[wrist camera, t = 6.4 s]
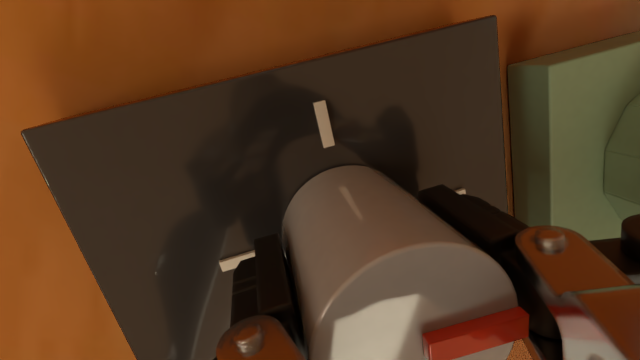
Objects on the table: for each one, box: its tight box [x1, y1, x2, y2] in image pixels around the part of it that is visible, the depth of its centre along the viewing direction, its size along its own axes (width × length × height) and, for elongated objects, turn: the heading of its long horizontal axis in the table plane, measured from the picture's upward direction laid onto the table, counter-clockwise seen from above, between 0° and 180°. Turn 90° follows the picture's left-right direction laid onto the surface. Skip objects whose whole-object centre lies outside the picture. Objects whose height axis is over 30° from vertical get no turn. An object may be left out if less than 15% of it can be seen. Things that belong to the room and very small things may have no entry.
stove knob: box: [282, 165, 529, 360], centre depth 10 cm, size 4×4×6 cm
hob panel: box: [21, 15, 508, 360], centre depth 13 cm, size 14×11×3 cm
